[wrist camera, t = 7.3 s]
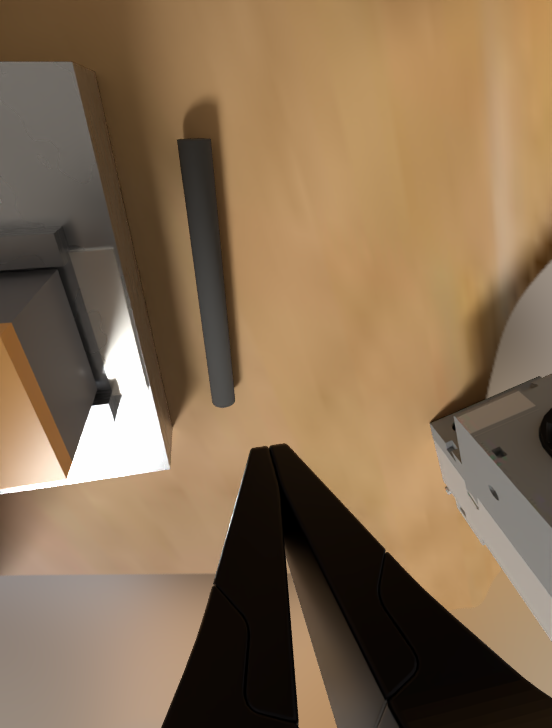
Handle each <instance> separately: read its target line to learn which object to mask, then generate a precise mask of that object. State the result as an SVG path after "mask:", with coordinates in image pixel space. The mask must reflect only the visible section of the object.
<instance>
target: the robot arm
mask: <svg viewBox="0 0 552 728" xmlns="http://www.w3.org/2000/svg"><path fill="white" fill-rule="evenodd" d="M385 551H386V550H385V548H384V547H383V546H382V545H381V544H380V543H379V542H378V541H377V540H376V539H375V538H374V537H373V536H372V534H371V533H370V532H369V531H368V530H367V529H366V528H365V527H364V526H363V525H362V524H361V523H360V522H359V521H358V520H357V518H356V517H355V516H354V515H353V514H352V513H351V512H350V511H349V510H348V509H347V508H346V507H345V506H344V505H343V503H342V502H341V501H340V500H339V499H338V498H337V497H336V496H335V495H334V494H333V493H332V492H331V491H330V490H329V489H328V487H327V486H326V485H325V484H324V483H323V482H322V481H321V480H320V479H319V478H318V477H317V476H316V475H315V474H314V472H313V471H312V470H311V469H310V468H309V467H308V466H307V465H306V464H305V463H304V462H303V461H302V460H301V459H300V458H299V456H298V455H297V454H296V453H295V452H294V451H293V450H292V449H291V448H290V447H289V446H288V445H287V444H285V443H283V444H276V445H271V446H270V447H269V448H268V447H267V446H263V447H256V448H252V449H251V450H250V453H249V457H248V460H247V464H246V468H245V471H244V475H243V478H242V482H241V486H240V489H239V493H238V496H237V500H236V503H235V507H234V511H233V514H232V518H231V521H230V525H229V529H228V532H227V536H226V539H225V543H224V546H223V550H222V554H221V557H220V561H219V564H218V568H217V571H216V575H215V579H214V583H213V584H214V586H213V587H212V589H211V592H210V596H209V599H208V603H207V606H206V610H205V613H204V616H203V619H202V623H201V626H200V629H199V632H198V635H197V638H196V641H195V644H194V646H193V649H192V652H191V654H190V657H189V660H188V662H187V665H186V668H185V671H184V673H183V675H182V678H181V680H180V683H179V685H178V688H177V690H176V693H175V695H174V698H173V700H172V703H171V705H170V708H169V710H168V712H167V715H166V717H165V720H164V722H163V725H162V727H161V728H299V727H298V709H297V708H298V707H297V695H296V683H295V669H294V658H293V644H292V631H291V620H290V606H289V593H288V581H287V568H286V558H287V562H288V565H289V568H290V572H291V575H292V578H293V582H294V585H295V588H296V592H297V595H298V598H299V601H300V605H301V608H302V611H303V614H304V618H305V622H306V625H307V628H308V632H309V634H310V638H311V642H312V645H313V648H314V652H315V655H316V658H317V661H318V665H319V668H320V671H321V675H322V678H323V681H324V685H325V688H326V691H327V695H328V698H329V701H330V705H331V708H332V711H333V714H334V718H335V721H336V725H337V728H552V698H551V697H550V696H548V695H547V694H545V693H544V692H542V691H541V690H539V689H538V688H537V687H535V686H534V685H533V684H531V683H530V682H529V681H527V680H526V679H525V678H523V677H522V676H521V675H520V674H519V673H518V672H516V671H515V670H514V669H513V668H512V667H511V666H510V665H508V664H507V663H506V662H505V661H504V660H503V659H502V658H500V657H499V656H498V655H497V654H496V653H495V652H494V651H493V650H491V649H490V648H489V647H488V646H487V645H486V644H484V643H483V642H482V641H481V640H480V639H479V638H478V637H477V636H476V635H474V634H473V633H472V632H471V631H470V630H469V629H468V628H466V627H465V626H464V625H463V624H462V623H461V622H459V621H458V620H457V619H456V618H455V617H454V616H453V615H452V614H451V613H449V612H448V611H447V610H446V609H445V608H444V607H443V606H442V605H441V604H440V603H438V602H437V601H436V600H435V599H434V598H433V597H432V596H431V595H430V594H429V593H428V592H427V591H425V590H424V589H423V588H422V587H421V586H420V585H419V584H418V583H417V582H416V581H415V580H414V579H413V578H412V577H411V576H410V575H409V574H408V573H407V572H406V571H405V570H404V568H403V567H402V566H401V565H400V564H399V563H398V562H397V561H396V560H395V559H394V558H393V557H392V556H391V555H390V553H388V552H386V553H385Z"/></svg>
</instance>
